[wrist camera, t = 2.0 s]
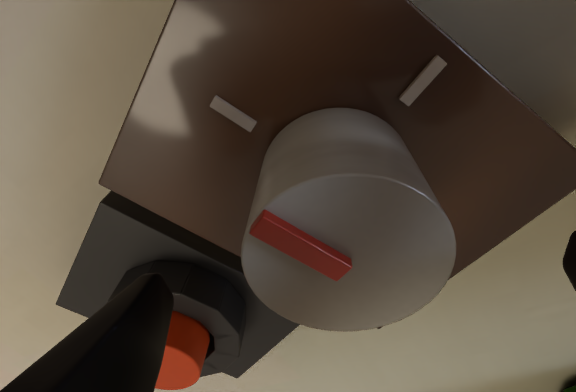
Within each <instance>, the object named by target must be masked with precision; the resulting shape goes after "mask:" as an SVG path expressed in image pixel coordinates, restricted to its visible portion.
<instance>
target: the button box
mask: <svg viewBox="0 0 576 392" xmlns="http://www.w3.org/2000/svg"><path fill="white" fill-rule="evenodd" d="M149 273H160V274H161V275H162V276H163V278H164V280H165V281H166V283H167V285H168V287H169V289H170V291H171V292H172V294H173V298H174V306H173V311H177V312H179V313H181V314H184V315H186V316H188V317H190V318H193V319H195V320H197V321H199V322H201V324H202V325H203V326H204V327H205V328H206V329H207V330H208V332H209V336H210V342H209V346H208V349H207V353H206V357H205V360H204V364H203V367H202V371H201V375H200V377H203V376H207V375H211V374H216V373H220V372H223V373H225V374H228V375H230V376H233V377H235V378H238V377H240V376H241V375H242V374H243V373H244V372H245V371H247V370H248V369H249V368H250V367H251V366H252V365H254V364H255V363H256V362H257V361H258V360H259V359H260V358H262V357H263V356H264V355H265V354H266V353H267V352H269V351H270V350H271V349H272V348H273V347H274V346H276V345H277V344H278V343H279V342H280V341H281V340H283V339H284V338H285V337H286V336H287V335H288V334H289V333H291V332H292V331H293V330H294V329H295V328H296V327H298V326H299V325H300V324H298V323H295V322H293V321H290V320H288V319H286V318H284V317H282V316H281V315H279V314H277V313H276V312H274V311H273V310H271V309H270V308H268V307H267V306H266V305H265V304H264V303H263V302H262V301H261V300H260V299H259V298H258V297H257V296H256V295H255V293H254V292H253V290H252V289H251V287H250V286H249V284H248V282H247V280H246V278H245V275H244V272H243V268H242V263H241V257H239V256H237V255H235V254H233V253H231V252H229V251H227V250H225V249H223V248H221V247H219V246H218V245H216V244H214V243H212V242H210V241H208V240H206V239H204V238H202V237H200V236H198V235H196V234H194V233H193V232H191V231H189V230H187V229H185V228H183V227H181V226H179V225H177V224H175V223H173V222H171V221H169V220H167V219H166V218H164V217H162V216H160V215H158V214H156V213H154V212H152V211H150V210H148V209H146V208H144V207H142V206H140V205H139V204H137V203H135V202H133V201H131V200H129V199H127V198H125V197H123V196H121V195H119V194H117V193H115V192H114V191H112V190H111V191H110V192H109V193H108V194H107V196H106V197H105V198H104V199H103V200H102V201H101V202H100V204H99V206H98V208H97V211H96V213H95V215H94V218H93V220H92V222H91V224H90V227H89V229H88V231H87V233H86V236H85V238H84V240H83V243H82V245H81V247H80V249H79V252H78V254H77V256H76V259H75V261H74V263H73V265H72V268H71V270H70V272H69V275H68V277H67V279H66V281H65V284H64V286H63V288H62V290H61V293H60V295H59V297H58V300H57V302H56V305H58V306H61V307H63V308H66V309H68V310H71V311H73V312H75V313H78V314H80V315H83V316H85V317H88V318H90V317H91V316H92V315H93V314H95V313H96V312H97V311H98V310H99V309H101V308H102V307H103V306H104V305H105V304H107V303H108V302H109V301H110V300H112V299H113V298H114V297H115V296H116V295H118V294H119V293H120V292H121V291H123V290H124V289H125V288H126V287H127V286H129V285H130V284H131V283H132V282H134V281H135V280H136V279H137V278H138V277H140V276H141V275H143V274H149Z"/></svg>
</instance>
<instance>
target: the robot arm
mask: <svg viewBox="0 0 576 392" xmlns="http://www.w3.org/2000/svg"><path fill="white" fill-rule="evenodd" d="M563 268H564V271H565V273H566V275H567V276H568V278H569V280H570V282H571V284H572V285H573V287H574V289H575V291H576V231H574V232H573V233H572V234H571V236H570V239H569V242H568V245H567V248H566V251H565V254H564V257H563ZM173 306H174V298H173V294H172V292H171V291H170V289H169V287H168V285H167V283H166V281H165V280H164V278H163V276H162V275H161V274H160V273H149V274H143V275H141V276H140V277H138V278H137V279H136V280H135V281H134V282H132V283H131V284H130V285H129V286H127V287H126V288H125V289H124V290H123V291H121V292H120V293H119V294H118V295H116V296H115V297H114V298H113V299H112V300H110V301H109V302H108V303H107V304H105V305H104V306H103V307H102V308H101V309H99V310H98V311H97V312H96V313H95V314H93V315H92V316H91V317H90V318H88V319H87V320H86V321H85V322H84V323H82V324H81V325H80V326H79V327H77V328H76V329H75V330H74V331H73V332H71V333H70V334H69V335H68V336H66V337H65V338H64V339H63V340H62V341H60V342H59V343H58V344H57V345H55V346H54V347H53V348H52V349H51V350H49V351H48V352H47V353H46V354H44V355H43V356H42V357H41V358H40V359H38V360H37V361H36V362H35V363H33V364H32V365H31V366H30V367H29V368H27V369H26V370H25V371H24V372H23V373H21V374H20V375H19V376H18V377H16V378H15V379H14V380H13V381H12V382H10V383H9V384H8V385H7V386H5V387H4V388H3V389H2V390H1V391H0V392H154V389H155V385H156V382H157V379H158V375H159V372H160V368H161V365H162V360H163V356H164V351H165V346H166V341H167V336H168V331H169V326H170V321H171V316H172V311H173Z"/></svg>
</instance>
